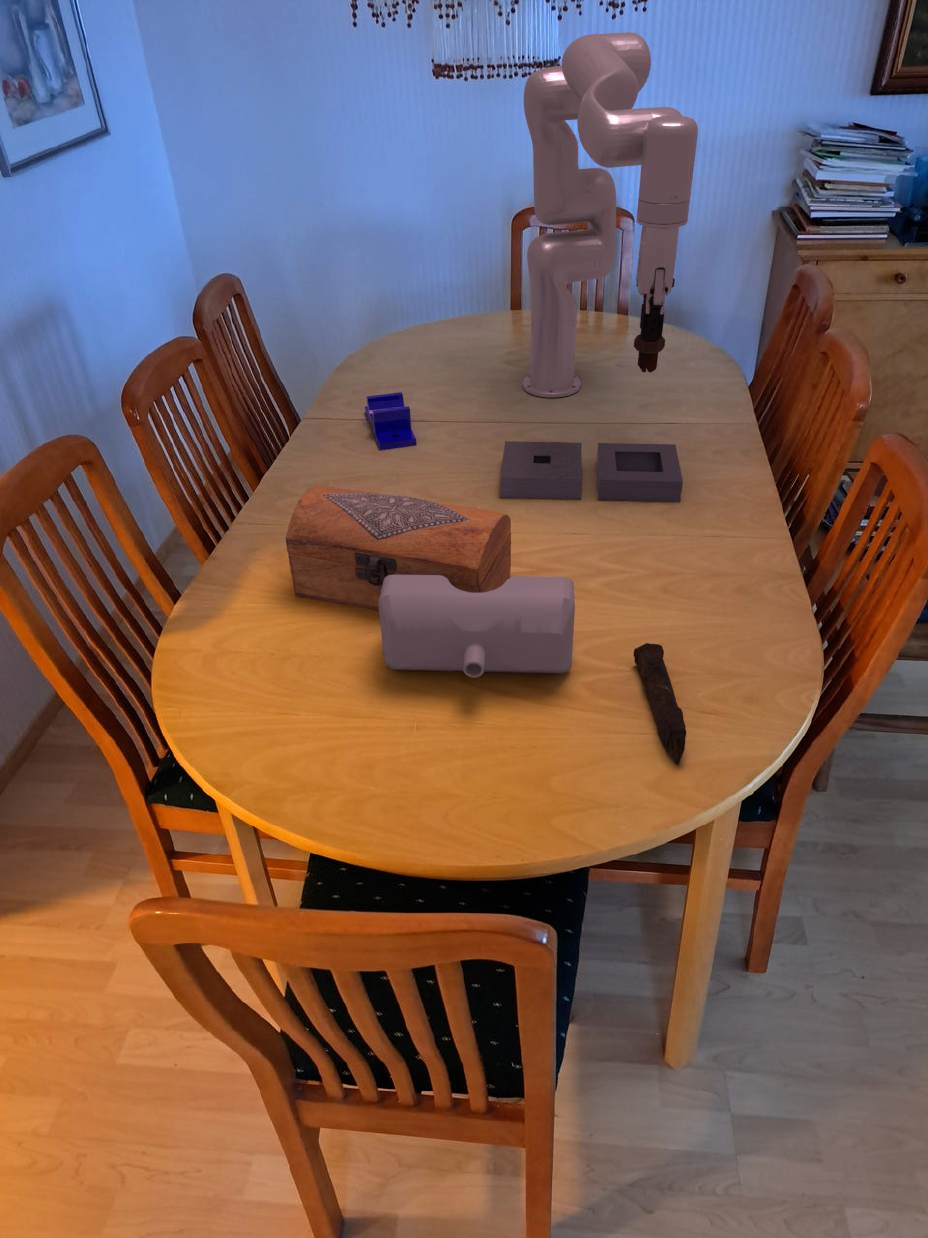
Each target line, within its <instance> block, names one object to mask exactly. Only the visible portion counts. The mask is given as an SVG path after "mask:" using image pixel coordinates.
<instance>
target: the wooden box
mask: <svg viewBox="0 0 928 1238" xmlns="http://www.w3.org/2000/svg"><path fill="white" fill-rule="evenodd" d="M289 521H290V522H289V524H288V527H287V531H286V534H285V543H286V552H287V553H288V554H287V555H288V561H289V566H290V573H291V579H292V583H293V584H292V585H293V590H294V596H295V597H298V598H302V599H303V598H304V599H308V600H315V601H319V602H320V601H321V602H327V603H332V604H338V605H343V606H350V607H354V608H361V609H366V610H372V611H376V612H377V611H378V612H379V606H378V602H379V598H380V594H381V590H382V585H383V581H384V578H385V577H386V576H388V575H440V576H444V577H446V578H447V579H448V580H449V582H450V583H451V585H453V586H454V587H455V588H457V589H459V590H462V591H465V592H471V593H483V592H488V591H492V590H495V589H497V588H499V587H500V586H502V585H503V584H504V583H505V582H506V580H507V579H509V578H510V576H511V570H512V569H511V567H512V531H511V528H512V523H511V517H510V516H509V515H508V514H506V513H503V512H499V511H493V510H488V509H487V510H486V509H479V508H472V507H466V506H460V505H454V504H453V505H452V504H448V503H447V504H446V503H441V502H435V501H430V500H426V499H422V498H417V497H411V496H404V495H403V496H402V495H391V494H384V493H377V492H372V491H371V492H370V491H369V492H368V491H363V490H357V489H356V490H355V489H350V488H349V489H348V488H339V487H334V486H333V487H332V486H327V485H320V484H318V485H314V486H312V487H311V488H309V489H308V490H306V492H305V493H304V494H303V495H301V497H300V499H299V501H298V502H297V504H296V506H295V508H294V511H293V513H292V517H291V519H290V520H289Z"/></svg>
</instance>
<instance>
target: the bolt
mask: <svg viewBox="0 0 928 1238" xmlns="http://www.w3.org/2000/svg"><path fill="white" fill-rule="evenodd" d="M654 278H655V277H654ZM637 281H638V279H637ZM675 283H676V282H675V277H673V283H672V289H673V288H675ZM635 287H637V283H636V284H635ZM667 288H668V287H666V289H667ZM650 292H654V289H650ZM642 297H643V299H644V300H643V299H642V300H643V301H644V302H642V304H643V311H642V312H645V310H646V298H647V294H643V296H642ZM651 300H653V298H650V302H651ZM641 322H643V313H642V321H641ZM641 333H642V323H641V329H640V333H639V334H637V335H636V336H635V338H634V340H633V348H634V349H635V350H636V351H637V352H638V358H637V366H638V368H639V369H640V371H641V372H642V373H647V372H648V373H654V371H656V370H657V366H658V359H659V353H660V352H661V351H663V349H665V346H666V339H665V337H664V336H663V335H662V337H661V338H660V339H643V338H642V337H641Z"/></svg>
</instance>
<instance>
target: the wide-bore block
mask: <svg viewBox="0 0 928 1238" xmlns="http://www.w3.org/2000/svg"><path fill="white" fill-rule="evenodd" d="M596 449H597V450H596V451H597V452H596V461H595V462H596V464H595V465H596V482H597V484H596V485H597V501H611V502H612V501H613V502H615V501H617V502H618V501H619V502H651V503H653V502H655V503H656V502H658V503H660V502H661V503H663V502H664V503H681V500H682V499H681V498H682V489H683V483H684V481H683V480H684V479H683V475H682V471H681V465H680V460H679V456H678V450H677V446H676V444H675V443H670V444H669V443H667V444H666V443H662V444H661V443H628V442H627V443H626V442H625V443H624V442H623V443H619V442H617V443H616V442H597V448H596Z"/></svg>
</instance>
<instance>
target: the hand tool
mask: <svg viewBox="0 0 928 1238" xmlns="http://www.w3.org/2000/svg"><path fill="white" fill-rule="evenodd" d="M664 654H665V652H664V647H663V646H662V645H661V644H659V643H658V644H657V643H649V642H646V643H644V644H641V645H640V646H638V647H636V648H634V650H633V658H634V659H633V661H634V664H635V665H637V670H638V672H639V673H640V676H641V677H640V678H641V680H642V683H643V685H644V687H645V692H646V696H647V698H648V701H649V704H650V707H651V710H652V713H653V717H654V721H655V723H656V728H657V729H656V730H657V734H658V737H659V739H660V742H661V744H662V746H663V747H664V749H665V751H666V753H667V755H668V756H669V757H670V759H671V760H672V761H673V762H674V764H675V765H679V764H680V762H681V760H682V756H683V755H684V752H685V749H686V739H687V737H686V736H687V727H686V724H685V720H684V714H683V713H684V712H683V710H682V708H681V707H679V704H678V702H677V698H676V695H675V691H674V688H673V684H672V681H671V678H670V675H669V672H668V669H667V666H666V664H665V660H664Z"/></svg>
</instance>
